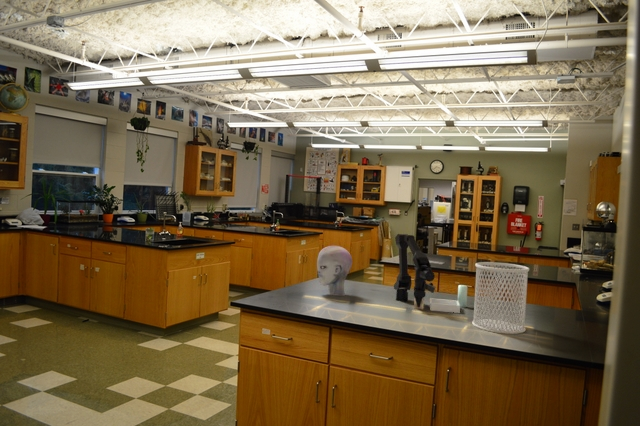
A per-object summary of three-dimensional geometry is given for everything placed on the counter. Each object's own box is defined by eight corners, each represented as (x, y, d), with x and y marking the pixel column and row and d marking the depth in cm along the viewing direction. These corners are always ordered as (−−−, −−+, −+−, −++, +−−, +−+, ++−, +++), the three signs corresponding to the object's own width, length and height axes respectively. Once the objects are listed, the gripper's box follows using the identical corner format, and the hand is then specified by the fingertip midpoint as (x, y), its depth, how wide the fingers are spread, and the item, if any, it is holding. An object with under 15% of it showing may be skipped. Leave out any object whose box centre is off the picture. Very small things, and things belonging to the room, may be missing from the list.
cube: (414, 308, 259) (414, 299, 259) (414, 306, 264) (414, 297, 264) (423, 309, 258) (423, 300, 258) (423, 307, 263) (423, 298, 263)
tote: (430, 310, 256) (430, 303, 256) (429, 305, 270) (429, 298, 270) (459, 313, 253) (460, 305, 253) (457, 307, 267) (457, 300, 267)
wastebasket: (506, 336, 211) (510, 270, 210) (461, 323, 231) (464, 263, 230) (536, 329, 226) (539, 268, 225) (491, 318, 246) (494, 261, 245)
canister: (457, 306, 268) (458, 286, 268) (456, 305, 273) (457, 284, 273) (466, 307, 267) (467, 286, 267) (465, 305, 272) (466, 285, 272)
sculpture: (324, 298, 274) (326, 247, 273) (308, 291, 292) (311, 244, 291) (356, 296, 285) (359, 247, 284) (339, 290, 303) (342, 243, 302)
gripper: (435, 282, 250) (434, 311, 251) (434, 276, 268) (432, 303, 269) (414, 280, 252) (413, 309, 253) (414, 275, 271) (413, 302, 271)
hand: (418, 306), depth 261 cm, fingers closed on cube, 5 cm apart
